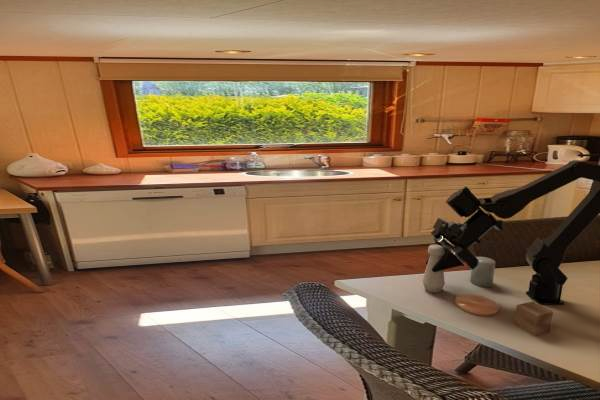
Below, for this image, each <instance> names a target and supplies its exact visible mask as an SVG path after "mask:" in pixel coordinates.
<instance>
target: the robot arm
mask: <svg viewBox="0 0 600 400" xmlns="http://www.w3.org/2000/svg"><path fill="white" fill-rule="evenodd" d="M579 179H585V180H590V181H591V180H592V182H591V185H590V189H589V192H588V193H587V194H586V195H585V196H584V198H583V199H582V200H581V201H580V202H579V203H578V205H576V206H575V208H574V209H573V210H572V211H571V212H570V213H569V214H568V215H567V217H566V218H564V220H563V221H562V222H561V223H560V225H558V227H557V228H556V229H555V230H554V231H553V232H552V233H551V235H550V236H548V237H546V238H545V239H542V240H541V239H540V238H539V237H536V238H535V239H534V241H533V243H532V244H530V246H528V247H526V250H527V252H526V254H525V259H526V262H527V263H528V264H529V266H530V267H531V269H532V270H533V271H534V272H535V273H534V274H532V275H531V280H530V281H529V284H528V290H526V291H525V294H526V295H527V296H529V297H530V298H532V299H533V301H534V302H536V303H537V304H539V305H565V303H566V302H565V301H564V300H562V299H561V298H562V293H563V292H562V291H563V287H564V285H565V283H566V282H567V280H568V277H567V276H566V274H565V273H564V272H563V271H562V270H561V269H560V266H561V264H562V263H563V261H564V260H565V255H566V254H567V253H566V252H567V250H568V248H569V247H570V246H571V245H572V244H573V243H574V242H575V240H576V239H578V238H579V236H580V235H581V234H582V233H583V232H584V231H585V230H586V229H587V228H588V227H589V225H590V224H592V223H593V222H594V220H595V219H596V218H597V217H598V216H599V215H600V164H595V163H590V162H586V161H584V160H578V159H573V160H570V161H569V162H568V163H566V164H564V165H562V166H561V167H559V168H556V169H555V170H553V171H551V172H549V173H547V174H544V175H543V176H540V177H539V178H536V179H535V180H533V181H531V182H529V183H527V184H525V185H523V186H520V187H518V188H517V187H516V188H513V189H507V190H504V191H502V192H498V193H496V194H493V195H492V196H491V197H481V198H480V197H479V198H478V197H477V196H476V195H475V194H474V193H473V192H472V191H471V190H470V188H469V187H468V186H466V185H464V187H463V188H461V189H459V190H457V191H455V192H453V193H452V194H451V195H450V196H449V197H448V198H447V199H446V200H445V203H446V204H447V206H448V207H449V208H451V209H452V210H453V211H454V212H455V213H456V214H457V215H458V216H459V217H460V218H463V217H464V218H468V219H466V221H464V222H463V223H461V222H457V223H456V222H454V221H450V222H448V221H446V220H444V219H442V218H440V217H438V218H437V219H436V221H435V222H434V224H433V226H432V228H433V230H432V231H431V232H430V234H431V236H432V237H433V240H434V245H440V246H443V247H444V249H445V253H444V255H443V256H442V258H441V259H440V260H439V261H438V262H437V264H436V265H435V266H434V267H433V268H432V271H433V272H438V271H442V270H443V271H444V270H448V269H452V268H457V267H464V266H465V264H466V266H467V267H468V268H469V269H470V270H471V269H472V270H473V269H475V268H476V267H477V266H478V263H479V260H478V259H477V258H476V257H477V256H475V255H474V254H473V252H471V251H470V248H471V247H472V246H474V244H477V245H480V243H481V242H482V241H481V240H480V239H481V238H483V236H484V235H486V234H487V233H488V232H489V231H490V230H491V229H492V228H494V229H495V230H497V231H503V220H507V219H510V218H513V217H514V216H516V215H517V214H518V213H519V212H521V211H523V210H524V209H525V208H526V207H527V206H528V205H529V204H530V203H532V202H533V201H535V200H537V199H539V198H541V197H543V196H546V195H548V194H550V193H552V192H554V191H556V190H559V189H560V188H562V187H563V186H567V185H568V184H570V183H572V182H575V181H577V180H579ZM493 214H494V215H495V216H494V215H493ZM497 218H498V219H497ZM499 218H500V219H499ZM429 257H430V255H429V256H428V258H427V260H426V261H425V264H426V266H427V264H428V260H429ZM464 263H465V264H464Z"/></svg>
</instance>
